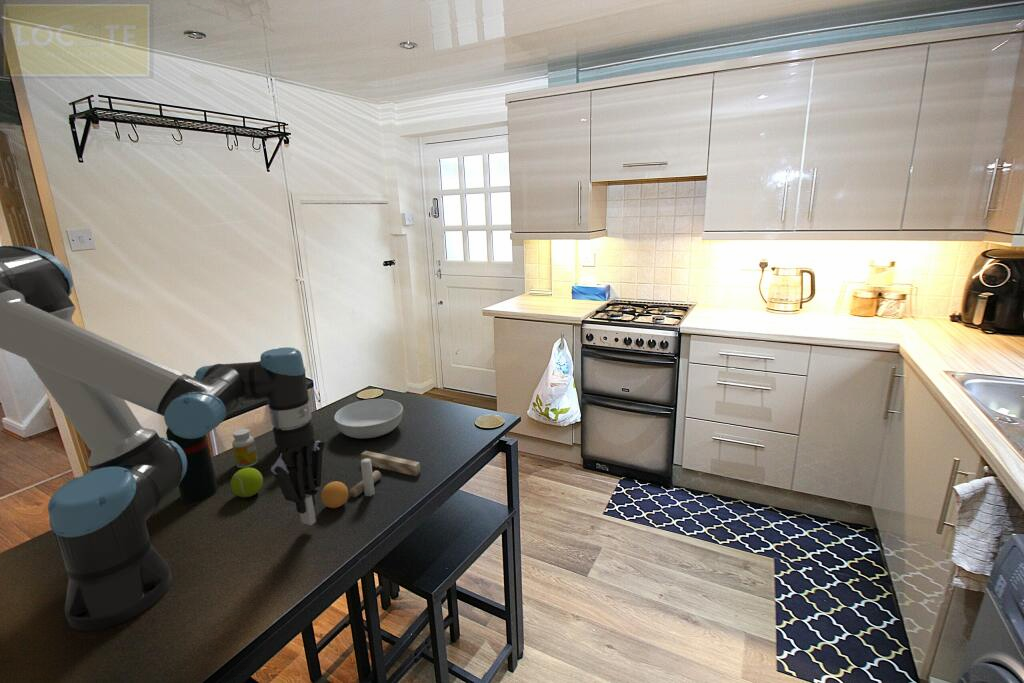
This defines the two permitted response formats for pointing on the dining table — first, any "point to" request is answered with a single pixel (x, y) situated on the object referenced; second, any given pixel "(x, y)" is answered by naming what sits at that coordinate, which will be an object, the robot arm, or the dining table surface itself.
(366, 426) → the serving bowl
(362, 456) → the back wall
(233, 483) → the tennis ball
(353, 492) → the pin
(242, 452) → the supplement bottle
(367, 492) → the pin
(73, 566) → the robot arm
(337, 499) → the ball
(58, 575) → the dining table surface
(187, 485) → the wine bottle
